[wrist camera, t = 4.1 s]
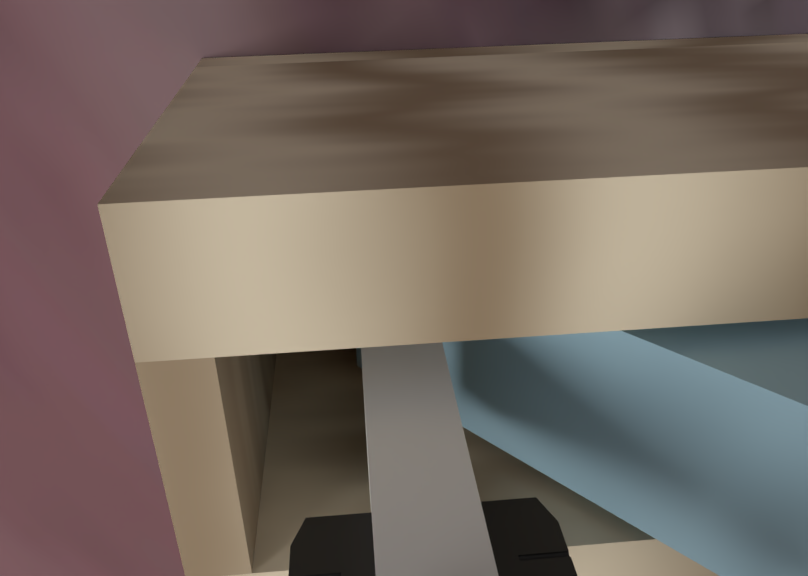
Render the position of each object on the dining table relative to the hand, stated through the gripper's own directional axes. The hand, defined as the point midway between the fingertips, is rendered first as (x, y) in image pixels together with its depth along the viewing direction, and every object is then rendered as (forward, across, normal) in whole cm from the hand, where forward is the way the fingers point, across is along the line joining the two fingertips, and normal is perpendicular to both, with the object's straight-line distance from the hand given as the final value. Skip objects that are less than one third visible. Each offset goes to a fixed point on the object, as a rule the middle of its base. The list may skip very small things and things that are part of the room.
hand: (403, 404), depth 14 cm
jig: (+8, +8, 0) cm, 11 cm away
